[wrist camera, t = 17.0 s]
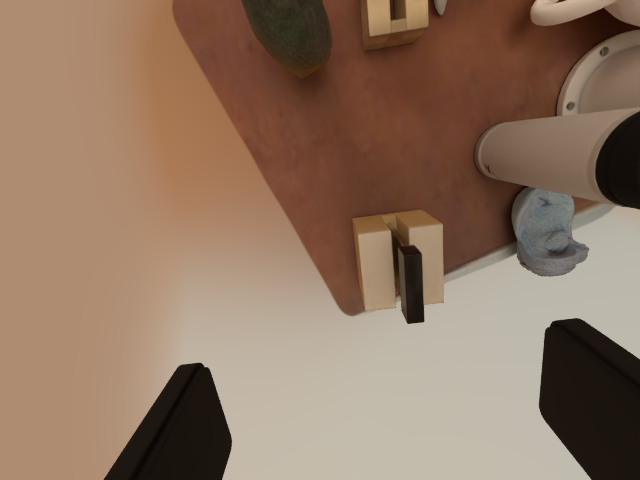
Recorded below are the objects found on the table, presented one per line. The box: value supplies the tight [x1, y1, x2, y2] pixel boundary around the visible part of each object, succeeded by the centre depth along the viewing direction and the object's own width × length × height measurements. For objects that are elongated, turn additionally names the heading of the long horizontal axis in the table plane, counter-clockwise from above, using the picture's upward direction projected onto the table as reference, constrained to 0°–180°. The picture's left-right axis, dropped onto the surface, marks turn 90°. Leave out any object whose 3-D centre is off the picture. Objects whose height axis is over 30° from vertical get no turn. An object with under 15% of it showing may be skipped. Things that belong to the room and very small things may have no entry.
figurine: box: [511, 187, 589, 276], centre depth 35 cm, size 8×12×7 cm, turn 18°
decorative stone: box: [242, 0, 332, 78], centre depth 25 cm, size 10×6×15 cm, turn 31°
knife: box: [387, 223, 424, 324], centre depth 33 cm, size 7×2×11 cm, turn 8°
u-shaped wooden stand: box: [352, 210, 444, 311], centre depth 35 cm, size 9×9×7 cm
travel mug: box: [474, 107, 640, 209], centre depth 26 cm, size 6×7×20 cm
